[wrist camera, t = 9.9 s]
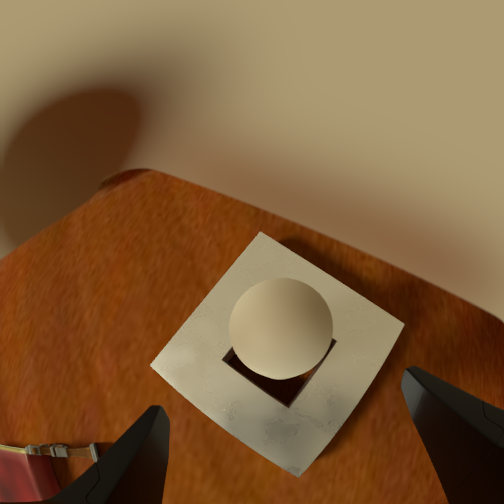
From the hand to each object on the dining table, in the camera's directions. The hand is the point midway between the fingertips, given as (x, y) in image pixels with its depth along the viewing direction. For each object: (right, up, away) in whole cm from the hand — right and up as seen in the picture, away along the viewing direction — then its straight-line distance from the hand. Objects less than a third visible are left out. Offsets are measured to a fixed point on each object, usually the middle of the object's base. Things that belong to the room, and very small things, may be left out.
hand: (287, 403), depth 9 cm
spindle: (+1, -3, +13) cm, 14 cm away
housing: (+1, -3, +13) cm, 14 cm away
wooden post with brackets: (-19, -15, +10) cm, 26 cm away
